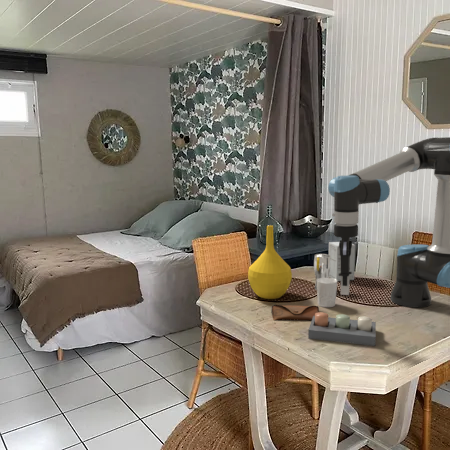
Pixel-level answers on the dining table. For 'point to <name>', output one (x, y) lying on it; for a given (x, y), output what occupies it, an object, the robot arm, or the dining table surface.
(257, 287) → the vase
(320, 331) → the panel
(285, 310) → the sunglasses case
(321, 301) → the white cup
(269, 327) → the dining table surface
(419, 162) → the robot arm
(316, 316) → the button terracotta
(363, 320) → the button cream
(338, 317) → the button sage
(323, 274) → the beer glass
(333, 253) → the supplement box
